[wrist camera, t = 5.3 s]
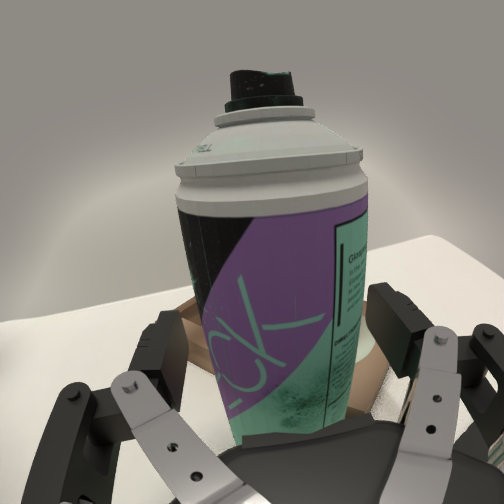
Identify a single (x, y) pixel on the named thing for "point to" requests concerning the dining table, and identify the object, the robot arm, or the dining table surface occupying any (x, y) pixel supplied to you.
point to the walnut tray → (365, 371)
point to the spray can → (276, 257)
